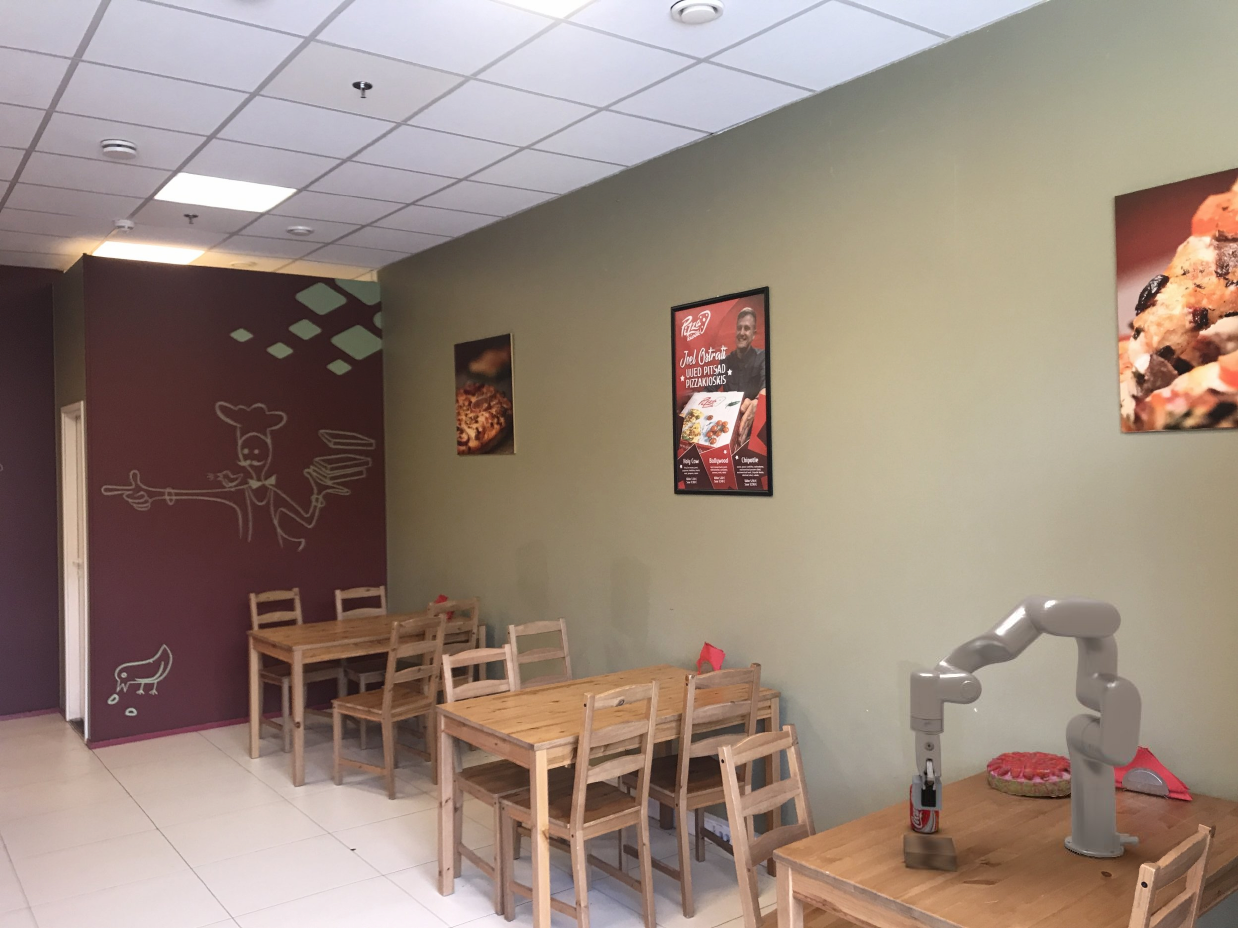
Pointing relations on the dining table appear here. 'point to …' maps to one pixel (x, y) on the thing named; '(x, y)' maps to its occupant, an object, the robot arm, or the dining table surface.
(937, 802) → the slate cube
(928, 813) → the soda can
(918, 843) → the walnut block
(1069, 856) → the dining table surface
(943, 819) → the dining table surface
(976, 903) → the dining table surface
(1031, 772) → the cake
